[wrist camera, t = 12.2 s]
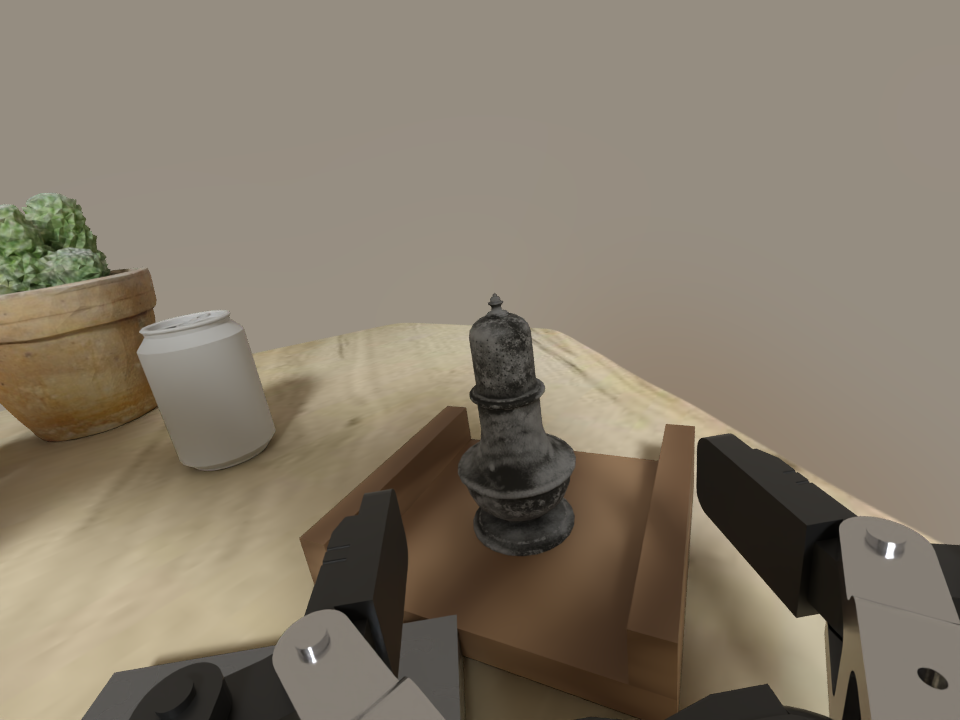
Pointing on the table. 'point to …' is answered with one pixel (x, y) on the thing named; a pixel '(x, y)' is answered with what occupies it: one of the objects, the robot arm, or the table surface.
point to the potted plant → (68, 325)
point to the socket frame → (423, 652)
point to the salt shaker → (514, 444)
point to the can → (207, 389)
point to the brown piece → (550, 568)
